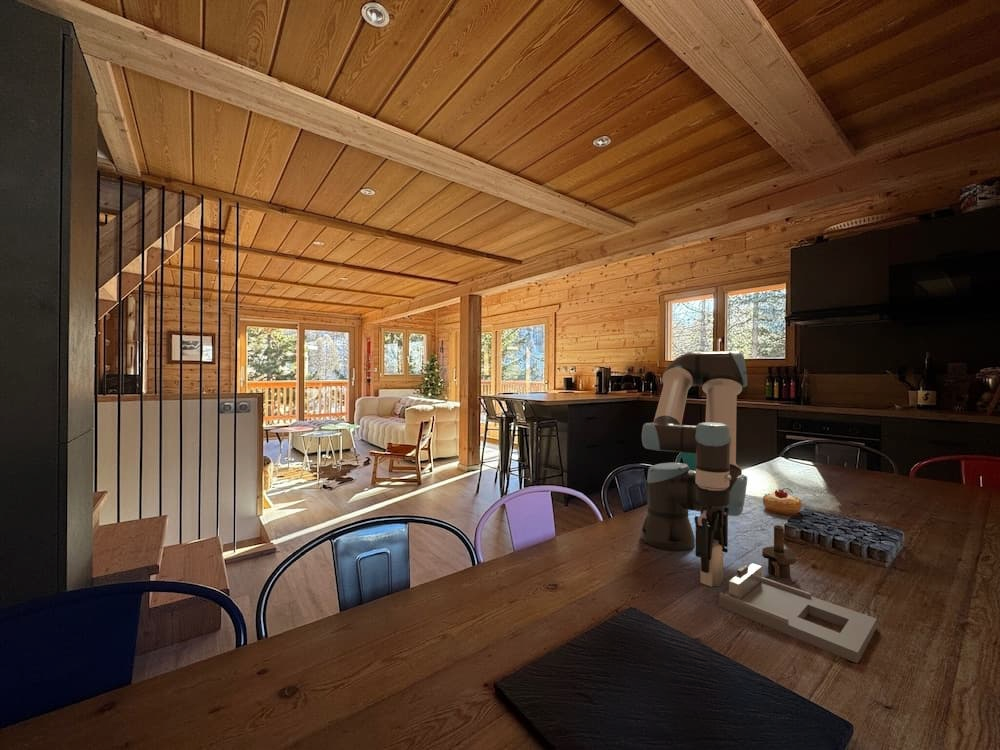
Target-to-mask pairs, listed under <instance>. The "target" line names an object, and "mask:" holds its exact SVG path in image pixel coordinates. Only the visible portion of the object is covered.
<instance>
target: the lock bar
mask: <svg viewBox="0 0 1000 750" xmlns="http://www.w3.org/2000/svg"><path fill="white" fill-rule="evenodd" d="M762 574H763V572H762V565H760V564H759V565H758V564H755V563H750V564H749V565H746V564H743V565H742V566H740V567H739V568H738V569H736V575H735V576H734V577H732V578H731V579H729V580H728V590H729V596H732V597H734V598H737V599H741V598H742V597H743V596H744V595H745V594H747V593H748V592H749V591H750V590H751V589H753V588H754V587H755V586H756V585H757V584H758V583H760V582H761V581H762V577H763V576H762Z"/></svg>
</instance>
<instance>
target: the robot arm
mask: <svg viewBox="0 0 1000 750" xmlns="http://www.w3.org/2000/svg"><path fill="white" fill-rule="evenodd" d="M661 381H662V384H663V387H662V390H661V392H660V393H661V394H660V397H659V401H658V404H657V408H656V411H655V415H654V419H653V422H645V423H643V425H642V430H641V442H642V447H644V448H645V449H646V450H652V451H659V452H662V451H663V452H671V453H686V454H695V469H694V470H693V469H690V466H689V465H688V464H687V463H682V462H662V463H657V464H654V465H651V466H649V468H648V469H647V479H646V484H647V493H646V494H647V495H646V496H647V498H646V499H647V507H646V508H647V511H646V512H647V513H646V517H645V519H644V522H643V525H642V528H641V534H640V535H641V537H642V538H641V540H642V539H643V540H644V541H645V542H646V543H645V542H644V541H643V540H642V541H643V542H644V543H645V544H647V543H648V544H647V545H649V546H651V545H652V546H651V547H654V546H655V547H654V548H657V547H658V549H661V548H662V549H661V550H666V549H668V551H685V550H687V551H688V550H690V549H692V548H694V547H695V553H694V555H695V557H698V558H700V572H699V573H700V578H699V579H700V584H703V585H706V586H708V587H714V586H713V559H712V558H711V555H712V546H713V539H716V540H719V544H720V545H721V546H722V580H724V553H728V546H729V545H728V543H729V542H728V539H729V537H728V535H729V533H728V532H729V525H728V524H729V516H730V517H739V516H740V515H741V514H742V513H743V511H744V507H745V506H744V505H745V500H746V495H747V493H746V492H747V485H748V476H747V475H744V474H742V468H741V467H740V466H739V465H738V464H737V461H736V460H737V401H738V400H737V399H738V398H737V397H738V395H740V394H741V393H742V391H743V388H745V387H747V386H748V374H747V367H746V360H745V356H744V354H743V353H742V352H741V351H730V350H726V351H691V352H687V353H684V354H682V355H679V356H678V357H676V358H675V359H674V360H673V361H671V362H670V363H669V364H668V365H667V367H665V369H664V371H663V374H662V379H661ZM696 386H697V387H701V389H702V391H703V393H705V394H706V404H705V422H699V423H697V425H691V424H690V425H688V424H683V419H684V413H685V408H686V403H687V397H688V393H689V390H690V389H691V387H696ZM689 511H695V512H699V514H700V515H699V516H698V515H695V516H694V523H695V524H694V525H695V533H694V531H693V528H692V525H691V521H690V519H689Z"/></svg>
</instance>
